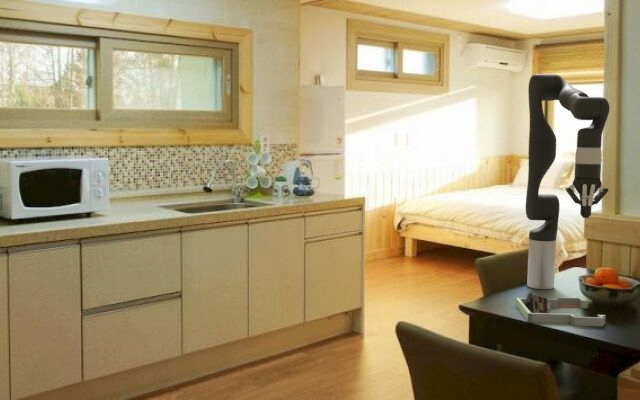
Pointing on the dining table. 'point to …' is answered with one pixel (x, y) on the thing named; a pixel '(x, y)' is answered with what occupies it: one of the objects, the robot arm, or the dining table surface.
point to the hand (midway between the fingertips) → (585, 217)
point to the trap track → (561, 318)
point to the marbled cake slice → (537, 303)
